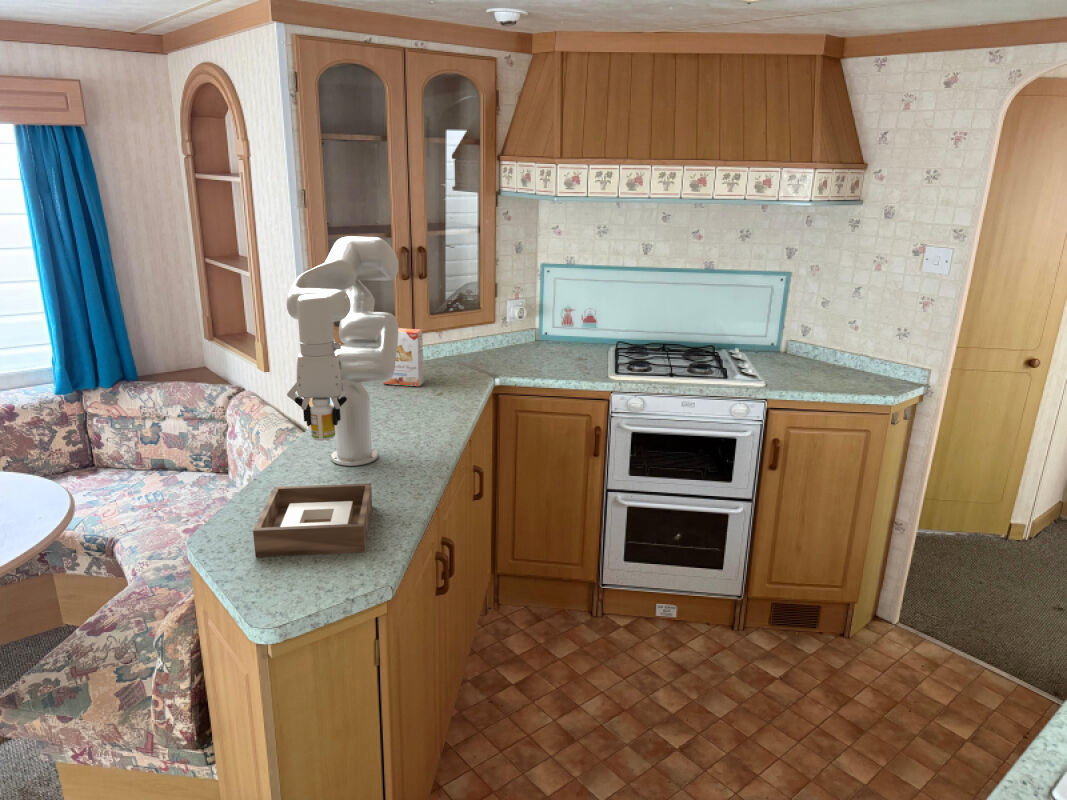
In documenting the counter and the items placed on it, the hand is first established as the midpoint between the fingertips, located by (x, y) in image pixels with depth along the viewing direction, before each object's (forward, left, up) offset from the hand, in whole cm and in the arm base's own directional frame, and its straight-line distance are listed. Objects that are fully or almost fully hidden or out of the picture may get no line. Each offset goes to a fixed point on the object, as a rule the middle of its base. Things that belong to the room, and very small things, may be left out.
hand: (322, 423), depth 175 cm
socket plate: (+17, 0, -19) cm, 26 cm away
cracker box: (-99, +15, -20) cm, 102 cm away
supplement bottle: (0, 0, -4) cm, 4 cm away
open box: (+17, 0, -19) cm, 26 cm away
